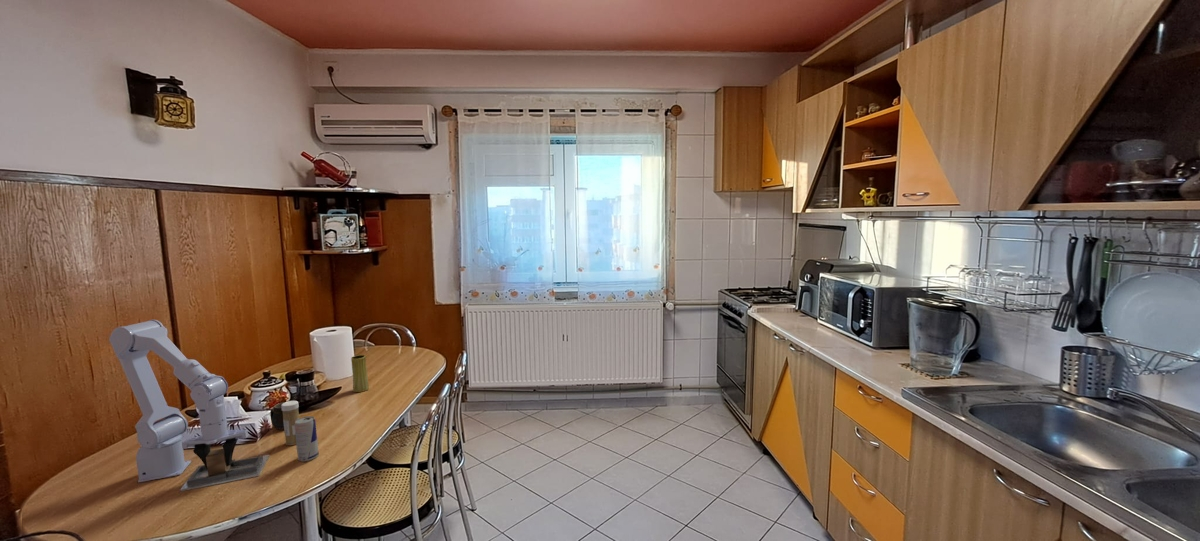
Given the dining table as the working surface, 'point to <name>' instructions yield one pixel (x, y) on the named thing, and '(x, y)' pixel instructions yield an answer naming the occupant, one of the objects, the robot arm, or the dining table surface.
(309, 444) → the energy drink
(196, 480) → the keyhole plate
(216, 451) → the walnut peg
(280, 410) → the mate gourd
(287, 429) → the sprinkles bottle
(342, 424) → the dining table surface
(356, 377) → the vase
